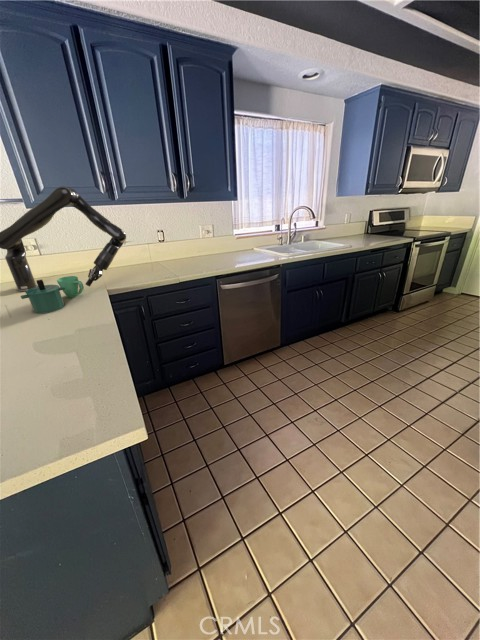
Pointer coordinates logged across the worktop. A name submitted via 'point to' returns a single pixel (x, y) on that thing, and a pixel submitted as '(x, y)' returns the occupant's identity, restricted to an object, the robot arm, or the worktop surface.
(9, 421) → the worktop surface
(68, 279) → the mug
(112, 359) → the worktop surface
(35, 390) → the worktop surface
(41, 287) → the pot lid
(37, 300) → the pot
